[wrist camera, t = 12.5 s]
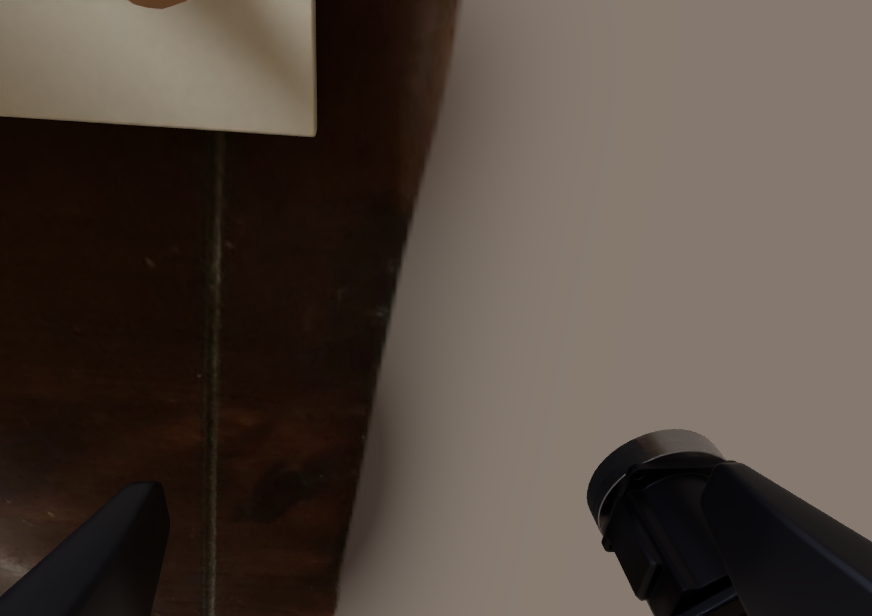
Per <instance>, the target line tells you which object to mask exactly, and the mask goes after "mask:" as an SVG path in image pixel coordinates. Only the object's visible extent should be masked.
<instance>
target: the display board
mask: <svg viewBox="0 0 872 616" xmlns="http://www.w3.org/2000/svg"><path fill="white" fill-rule="evenodd" d="M0 116H5V117H20V118H35V119H50V120H65V121H80V122H95V123H110V124H125V125H140V126H154V127H169V128H184V129H199V130H214V131H229V132H244V133H259V134H274V135H289V136H304V137H314V136H315V135H316V132H317V77H316V1H315V0H187V1H185V2H182V3H179V4H176V5H173V6H170V7H167V8H164V9H155V8H146V7H142V6H138V5H134V4H133V3H131V2H130V1H128V0H0Z"/></svg>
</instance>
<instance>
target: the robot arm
mask: <svg viewBox="0 0 872 616" xmlns="http://www.w3.org/2000/svg"><path fill="white" fill-rule="evenodd" d="M169 531H170V518H169V513H168V508H167V504H166V499H165V494H164V489H163V486H162V485H161V483H160V482H157V481H145V482H132V483H129V484H128V485H126V486H125V487H124V488H122V489H121V490H120V491H119V492H118V493H117V494H116V495H115V496H113V497H112V498H111V499H110V500H109V501H108V502H107V503H106V504H104V505H103V506H102V507H101V508H100V509H99V510H98V511H96V512H95V513H94V514H93V515H92V516H91V517H90V518H89V519H87V520H86V521H85V522H84V523H83V524H82V525H81V526H80V527H78V528H77V529H76V530H75V531H74V532H73V533H72V534H71V535H69V536H68V537H67V538H66V539H65V540H64V541H63V542H61V543H60V544H59V545H58V546H57V547H56V548H55V549H54V550H52V551H51V552H50V553H49V554H48V555H47V556H46V557H45V558H43V559H42V560H41V561H40V562H39V563H38V564H37V565H36V566H34V567H33V568H32V569H31V570H30V571H29V572H28V573H26V574H25V575H24V576H23V577H22V578H21V579H20V580H19V581H17V582H16V583H15V584H14V585H13V586H12V587H11V588H10V589H8V590H7V591H6V592H5V593H4V594H3V595H2V596H1V597H0V616H150V615H151V611H152V606H153V602H154V598H155V593H156V589H157V585H158V580H159V576H160V572H161V567H162V563H163V559H164V554H165V550H166V546H167V541H168V537H169ZM602 545H603V547H604V549H605V551H607V552H615V554H616V556H617V558H618V560H619V562H620V564H621V566H622V568H623V570H624V573H625V575H626V576H627V579H628V581H629V583H630V585H631V587H632V589H633V591H634V593H635V595H636V596H637V598H638V599H639V600H641V601H643V600H646V601H647V603H648V605H649V607H650V609H651V611H652V613H653V615H654V616H872V542H871V541H870V540H868V539H866V538H865V537H863V536H861V535H860V534H858V533H857V532H855V531H853V530H852V529H850V528H848V527H846V526H845V525H843V524H842V523H840V522H838V521H837V520H835V519H833V518H832V517H830V516H828V515H827V514H825V513H824V512H822V511H820V510H819V509H817V508H815V507H814V506H812V505H810V504H809V503H807V502H805V501H804V500H802V499H801V498H799V497H797V496H796V495H794V494H792V493H791V492H789V491H787V490H786V489H784V488H782V487H781V486H779V485H778V484H776V483H774V482H773V481H771V480H769V479H768V478H766V477H764V476H763V475H761V474H759V473H758V472H756V471H755V470H753V469H751V468H750V467H748V466H746V465H744V464H742V463H737V462H736V461H699V462H666V463H637V464H633V465H631V466H630V467H629V468H628V469H627V471H626V473H625V476H624V479H623V482H622V485H621V488H620V490H619V493H618V496H617V499H616V502H615V504H614V507H613V510H612V513H611V515H610V518H609V521H608V524H607V527H606V530H605V533H604V536H603V539H602Z"/></svg>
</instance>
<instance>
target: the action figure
mask: <svg viewBox="0 0 872 616" xmlns="http://www.w3.org/2000/svg"><path fill="white" fill-rule="evenodd" d="M128 1H130V2H131V3H133V4H134V5H138V6H142V7H146V8H155V9H164V8H167V7H170V6H173V5H176V4H179V3H182V2H185V1H187V0H128Z"/></svg>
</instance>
